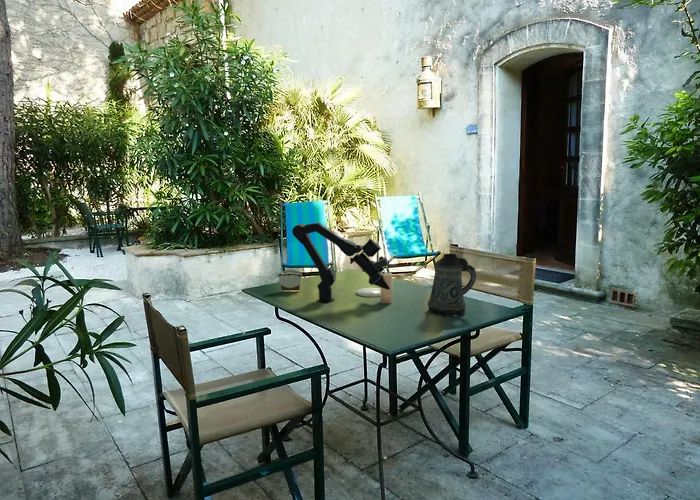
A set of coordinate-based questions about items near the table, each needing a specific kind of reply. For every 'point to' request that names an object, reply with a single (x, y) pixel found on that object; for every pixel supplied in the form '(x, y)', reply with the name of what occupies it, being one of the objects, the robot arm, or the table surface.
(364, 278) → the table surface
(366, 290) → the cream plate
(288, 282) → the food container
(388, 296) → the tan tall block
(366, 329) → the table surface
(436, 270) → the beer stein
